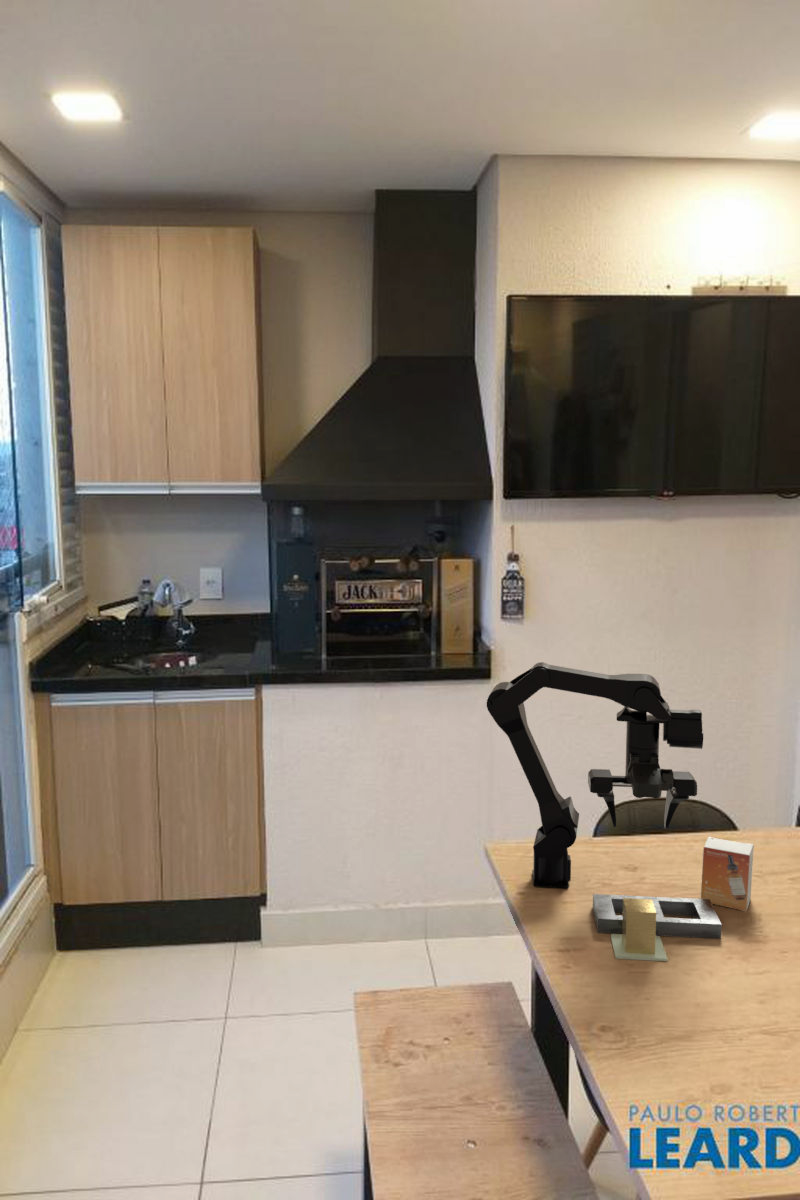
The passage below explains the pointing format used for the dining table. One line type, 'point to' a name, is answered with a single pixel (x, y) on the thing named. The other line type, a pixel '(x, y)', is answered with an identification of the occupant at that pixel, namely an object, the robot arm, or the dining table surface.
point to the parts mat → (621, 954)
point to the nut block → (639, 926)
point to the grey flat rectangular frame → (661, 916)
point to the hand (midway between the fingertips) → (640, 827)
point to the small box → (727, 873)
